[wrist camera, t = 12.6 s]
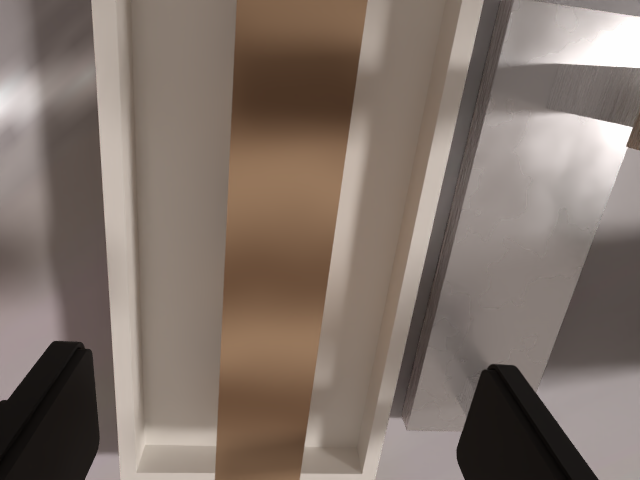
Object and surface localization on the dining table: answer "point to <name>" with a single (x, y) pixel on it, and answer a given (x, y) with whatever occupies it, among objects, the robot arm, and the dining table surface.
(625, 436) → the dining table surface
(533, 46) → the steel stand
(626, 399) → the dining table surface
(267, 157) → the walnut rail
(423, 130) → the off-white tray
